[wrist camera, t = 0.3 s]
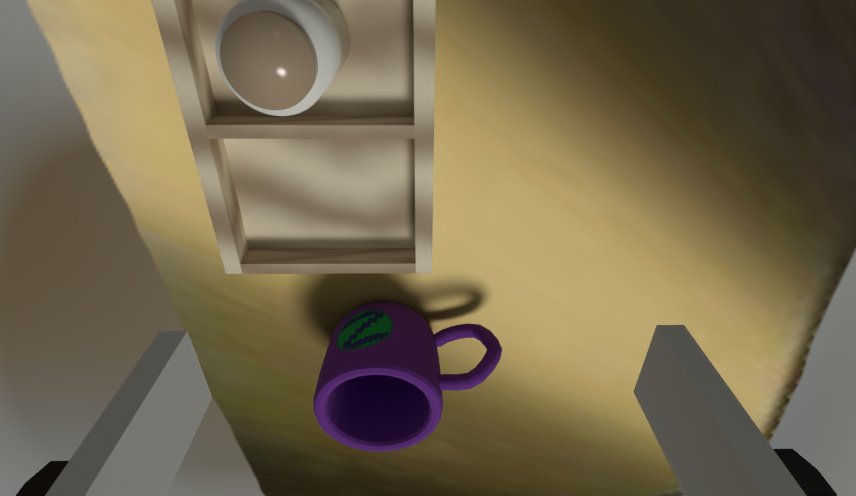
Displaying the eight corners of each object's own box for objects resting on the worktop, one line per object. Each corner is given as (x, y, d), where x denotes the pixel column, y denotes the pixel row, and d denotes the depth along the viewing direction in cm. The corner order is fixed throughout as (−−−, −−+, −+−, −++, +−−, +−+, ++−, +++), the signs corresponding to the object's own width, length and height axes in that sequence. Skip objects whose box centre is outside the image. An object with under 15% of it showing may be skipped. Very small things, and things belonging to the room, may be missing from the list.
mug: (353, 382, 52) (340, 463, 44) (313, 306, 47) (289, 383, 38) (504, 349, 50) (521, 428, 42) (481, 265, 44) (496, 338, 36)
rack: (158, -76, 30) (129, -80, 27) (434, -74, 30) (436, -77, 27) (239, 252, 43) (226, 273, 40) (430, 251, 43) (431, 273, 40)
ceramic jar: (256, -13, 31) (194, -3, 22) (346, -12, 31) (318, -2, 22) (271, 81, 34) (222, 121, 25) (353, 81, 34) (331, 121, 26)
